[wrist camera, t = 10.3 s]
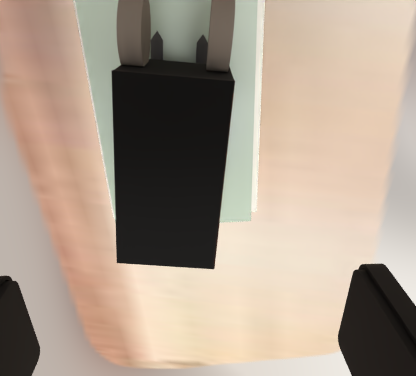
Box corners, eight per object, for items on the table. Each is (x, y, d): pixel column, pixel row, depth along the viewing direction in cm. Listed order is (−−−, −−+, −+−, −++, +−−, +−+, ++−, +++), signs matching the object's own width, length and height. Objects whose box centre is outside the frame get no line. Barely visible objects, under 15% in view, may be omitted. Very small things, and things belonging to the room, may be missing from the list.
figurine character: (126, 2, 22) (130, 217, 28) (96, -23, 15) (110, 273, 21) (231, 10, 23) (216, 220, 28) (250, -11, 16) (224, 276, 21)
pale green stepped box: (84, -24, 26) (51, -33, 20) (256, -29, 27) (275, -40, 20) (121, 197, 35) (106, 238, 29) (250, 191, 35) (262, 230, 29)
